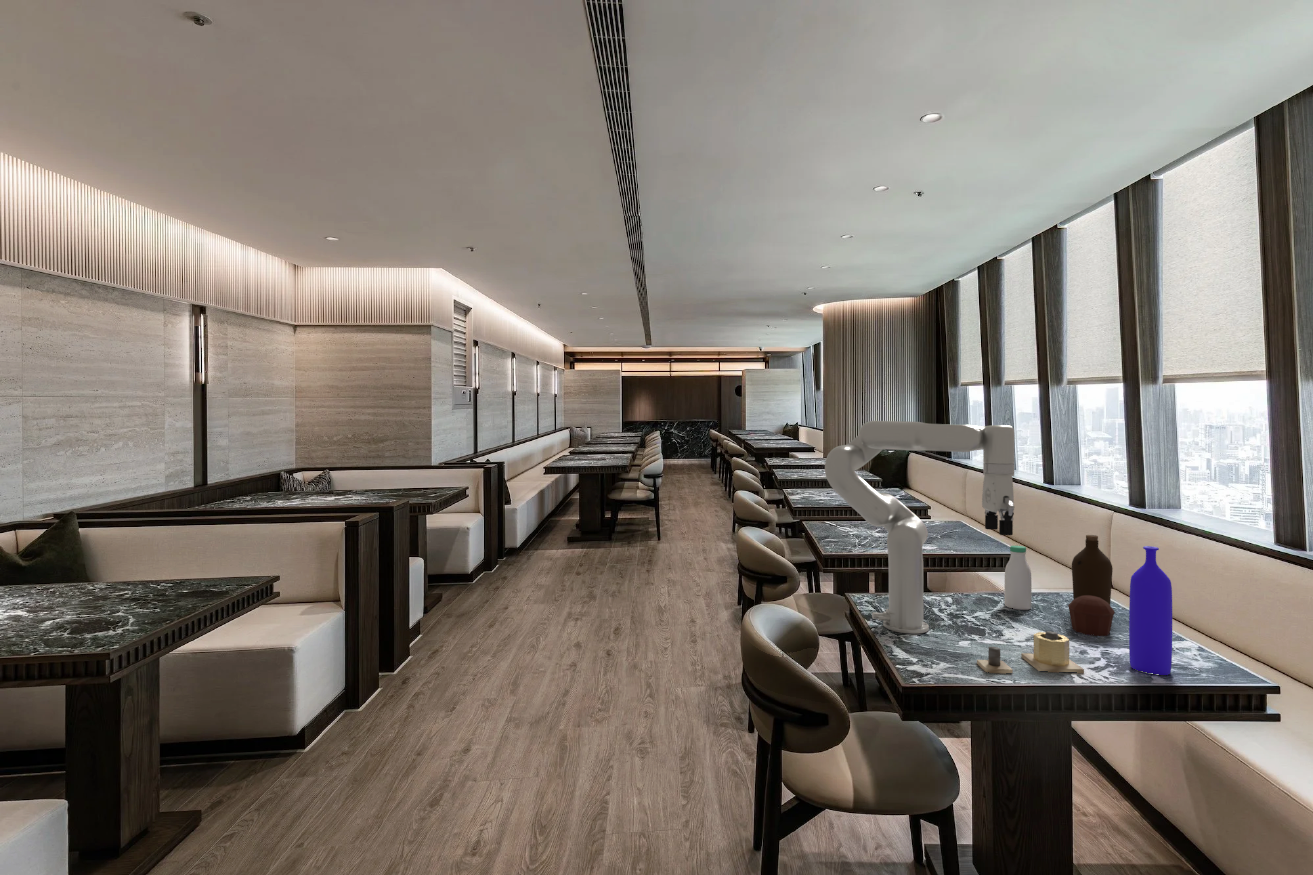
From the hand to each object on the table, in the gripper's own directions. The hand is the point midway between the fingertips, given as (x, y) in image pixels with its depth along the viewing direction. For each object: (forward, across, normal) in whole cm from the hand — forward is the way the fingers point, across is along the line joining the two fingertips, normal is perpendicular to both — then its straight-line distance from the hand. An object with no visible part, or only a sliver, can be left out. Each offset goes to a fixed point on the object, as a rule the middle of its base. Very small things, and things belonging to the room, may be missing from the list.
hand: (998, 532), depth 177 cm
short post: (+30, +21, -9) cm, 38 cm away
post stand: (+30, +17, +6) cm, 35 cm away
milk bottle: (+31, -36, +20) cm, 51 cm away
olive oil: (+31, -29, +39) cm, 57 cm away
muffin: (+31, -12, +30) cm, 45 cm away
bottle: (+31, +18, +28) cm, 45 cm away
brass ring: (+29, +17, +6) cm, 34 cm away
